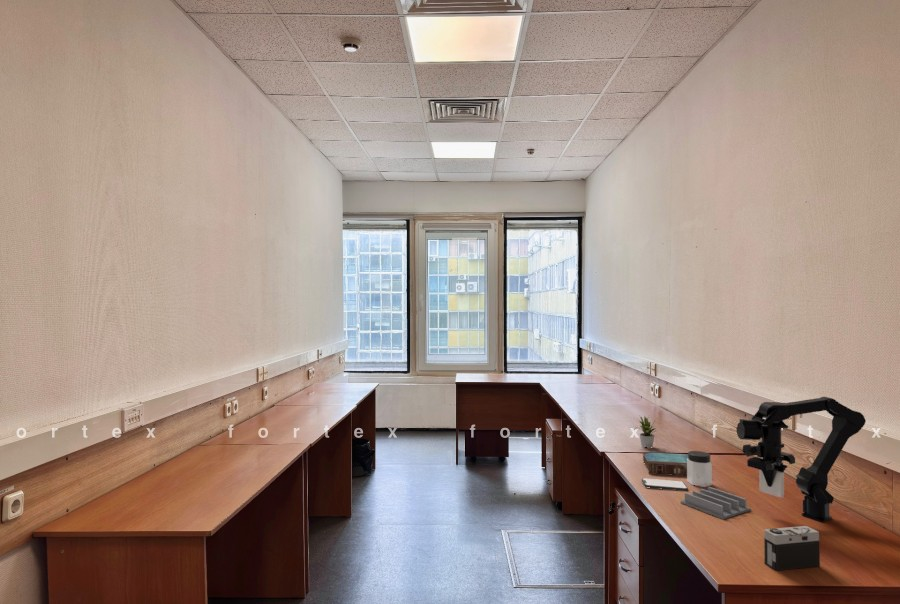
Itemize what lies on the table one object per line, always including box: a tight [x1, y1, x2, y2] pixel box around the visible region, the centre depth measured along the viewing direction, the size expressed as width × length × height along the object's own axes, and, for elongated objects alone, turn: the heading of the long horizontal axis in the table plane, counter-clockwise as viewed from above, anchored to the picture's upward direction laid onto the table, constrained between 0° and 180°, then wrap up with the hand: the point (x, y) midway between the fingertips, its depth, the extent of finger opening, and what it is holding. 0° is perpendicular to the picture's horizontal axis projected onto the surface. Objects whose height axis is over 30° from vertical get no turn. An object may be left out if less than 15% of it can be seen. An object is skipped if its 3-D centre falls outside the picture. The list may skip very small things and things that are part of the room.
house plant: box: [631, 415, 659, 449], centre depth 257 cm, size 14×14×16 cm
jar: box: [686, 450, 713, 488], centre depth 203 cm, size 9×8×12 cm
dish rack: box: [680, 486, 752, 520], centre depth 179 cm, size 16×16×4 cm
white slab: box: [758, 469, 785, 498], centre depth 171 cm, size 7×2×8 cm, turn 29°
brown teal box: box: [641, 451, 688, 477], centre depth 221 cm, size 23×18×5 cm
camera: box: [763, 525, 821, 572], centre depth 140 cm, size 14×8×10 cm, turn 100°
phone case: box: [641, 477, 689, 491], centre depth 200 cm, size 9×2×16 cm
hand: (771, 485), depth 171 cm, fingers closed on white slab, 2 cm apart
